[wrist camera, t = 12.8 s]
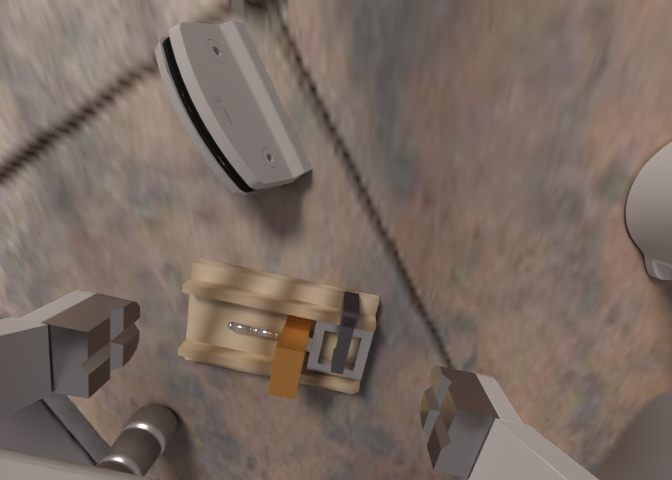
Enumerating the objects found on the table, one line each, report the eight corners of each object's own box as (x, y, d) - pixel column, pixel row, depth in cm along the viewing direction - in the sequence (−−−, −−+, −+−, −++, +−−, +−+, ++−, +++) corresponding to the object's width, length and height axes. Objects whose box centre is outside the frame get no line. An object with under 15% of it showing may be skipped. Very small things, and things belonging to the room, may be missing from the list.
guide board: (378, 295, 40) (380, 309, 36) (354, 386, 44) (354, 406, 40) (198, 258, 40) (183, 268, 36) (190, 352, 44) (176, 369, 40)
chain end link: (373, 326, 39) (377, 363, 32) (360, 374, 41) (361, 418, 34) (232, 296, 39) (207, 327, 32) (226, 346, 41) (201, 384, 34)
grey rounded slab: (313, 172, 36) (265, 196, 28) (282, 187, 38) (229, 213, 30) (242, 19, 32) (160, -8, 24) (211, 46, 34) (127, 30, 26)
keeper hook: (359, 293, 38) (359, 314, 33) (345, 350, 40) (343, 377, 36) (344, 290, 38) (343, 310, 33) (331, 347, 40) (328, 373, 36)
